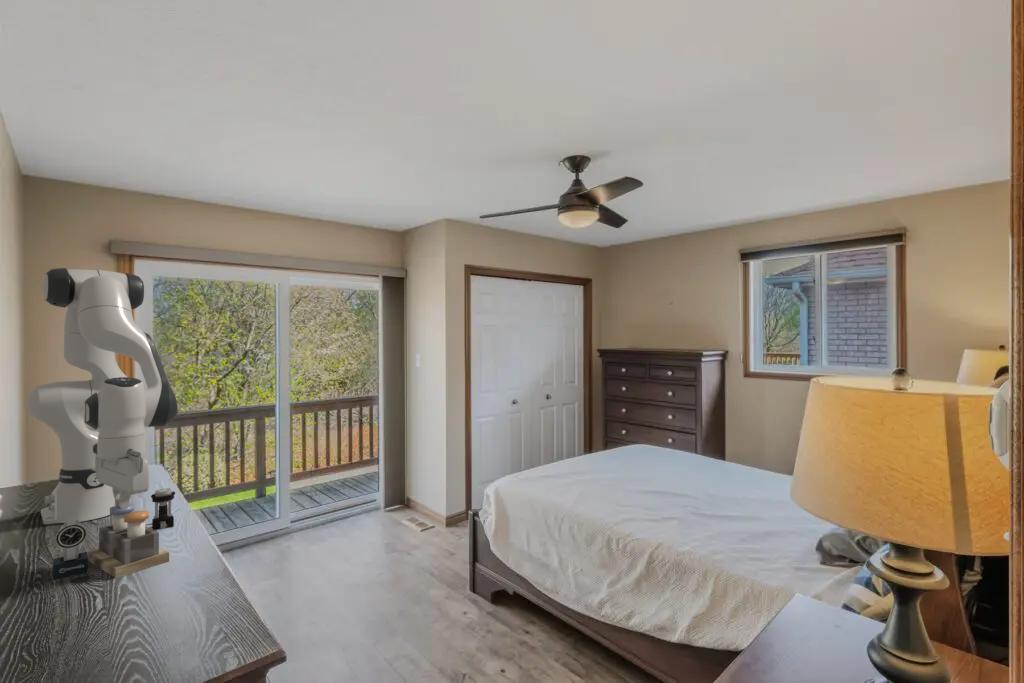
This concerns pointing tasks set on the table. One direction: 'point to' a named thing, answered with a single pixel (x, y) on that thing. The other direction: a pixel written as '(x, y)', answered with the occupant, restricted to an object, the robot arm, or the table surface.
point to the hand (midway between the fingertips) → (122, 506)
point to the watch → (70, 551)
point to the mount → (127, 551)
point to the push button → (162, 509)
